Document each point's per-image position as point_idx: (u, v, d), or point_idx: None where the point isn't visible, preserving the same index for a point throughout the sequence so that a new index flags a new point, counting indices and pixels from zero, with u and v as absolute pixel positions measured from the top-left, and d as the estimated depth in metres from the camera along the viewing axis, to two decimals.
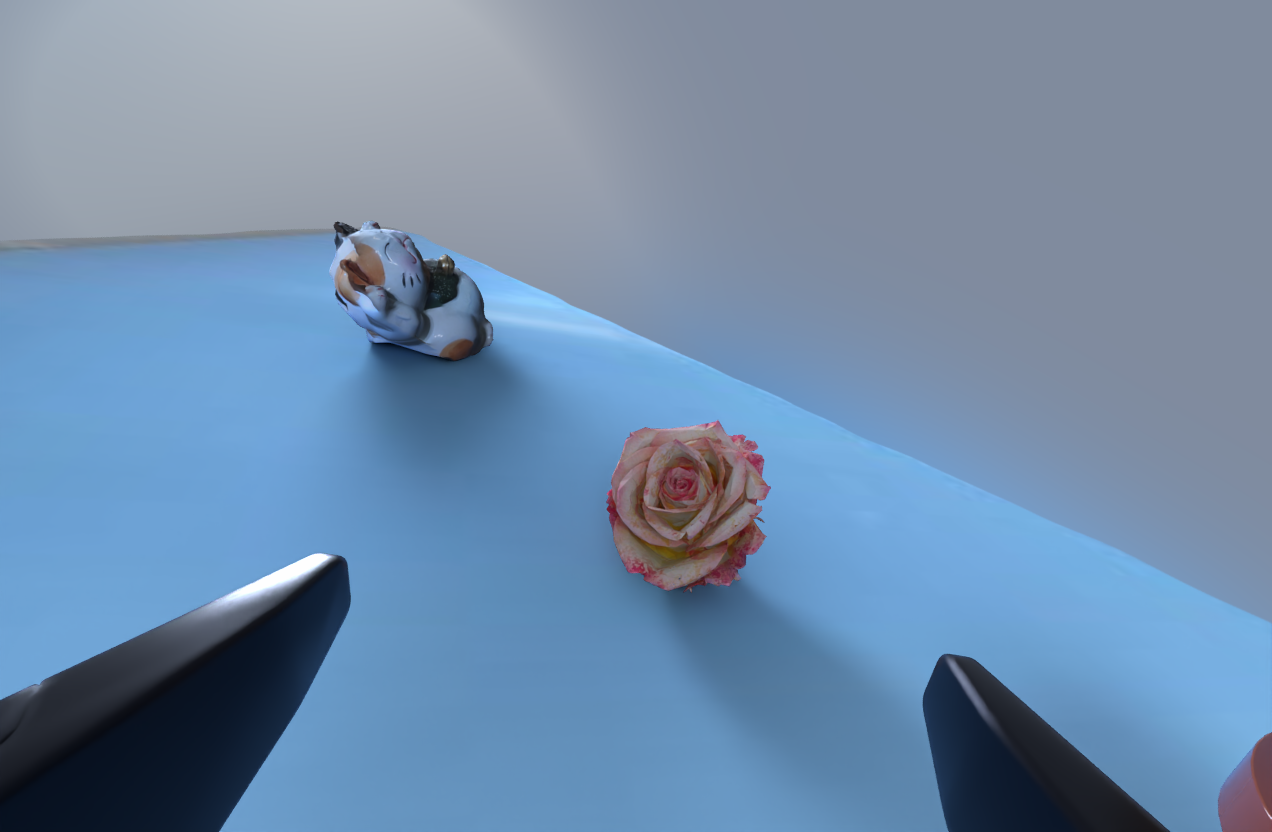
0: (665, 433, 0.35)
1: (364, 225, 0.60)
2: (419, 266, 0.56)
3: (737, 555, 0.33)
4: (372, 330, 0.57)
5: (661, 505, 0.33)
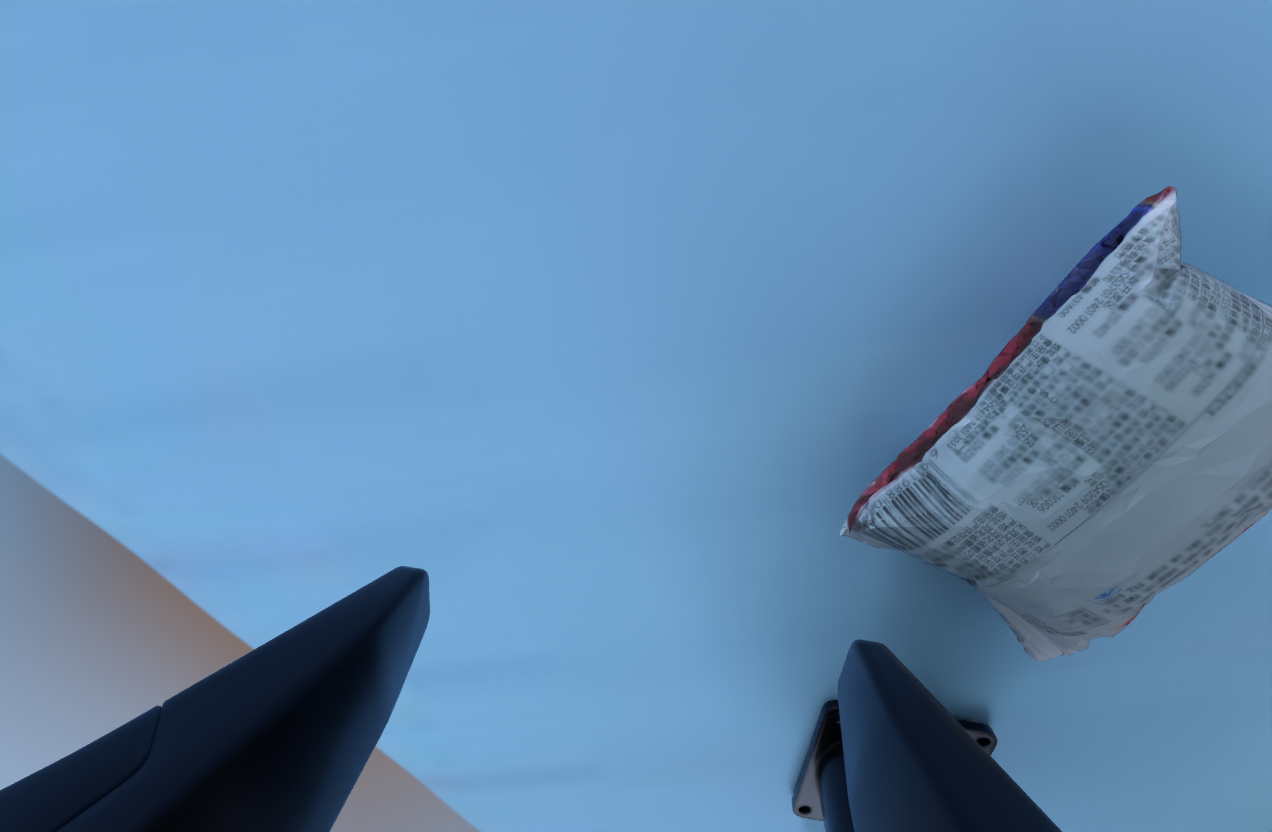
0: None
1: None
2: None
3: None
4: None
5: None
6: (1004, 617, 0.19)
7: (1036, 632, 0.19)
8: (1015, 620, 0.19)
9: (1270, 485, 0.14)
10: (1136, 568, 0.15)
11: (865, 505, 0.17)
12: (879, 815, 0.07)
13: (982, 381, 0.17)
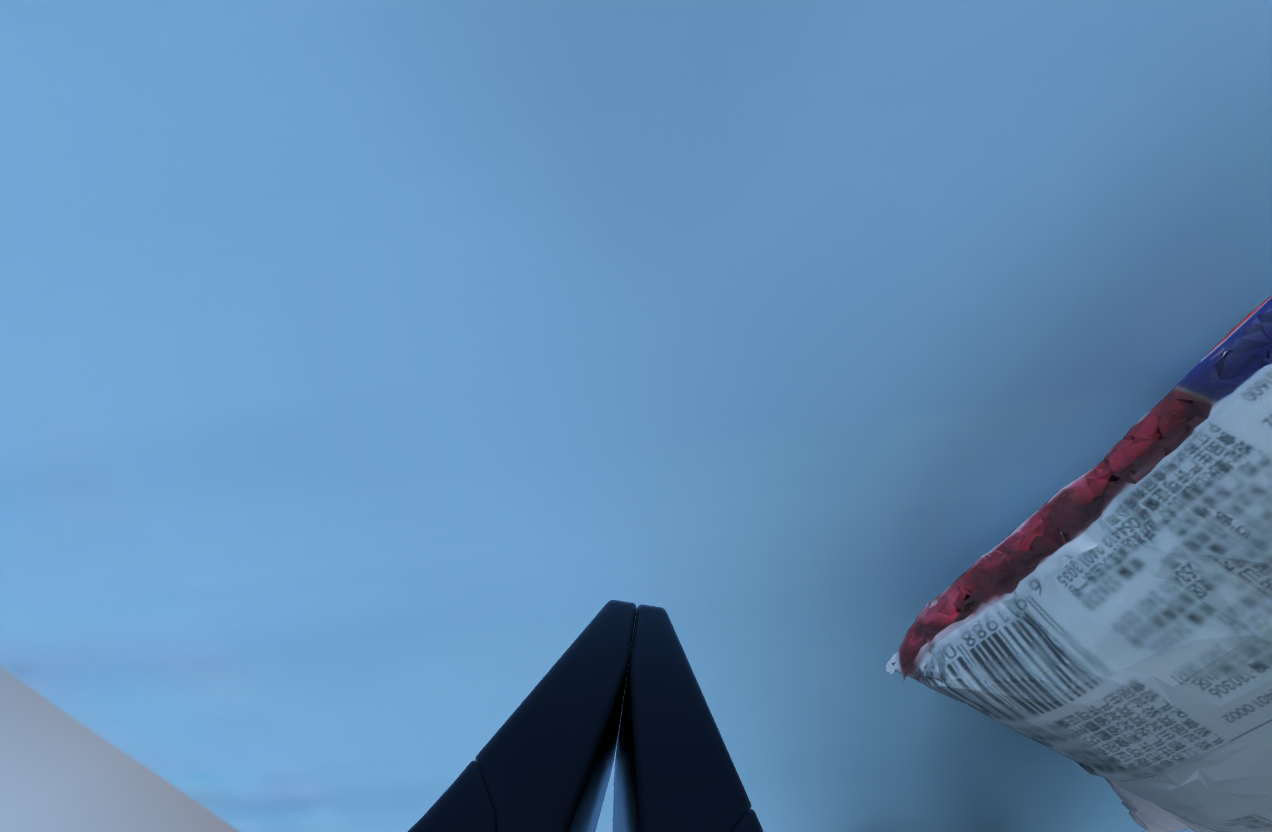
0: None
1: None
2: None
3: None
4: None
5: None
6: (1110, 782, 0.14)
7: (1154, 804, 0.14)
8: (1127, 789, 0.14)
9: None
10: None
11: (929, 647, 0.12)
12: (619, 770, 0.07)
13: (1098, 475, 0.12)
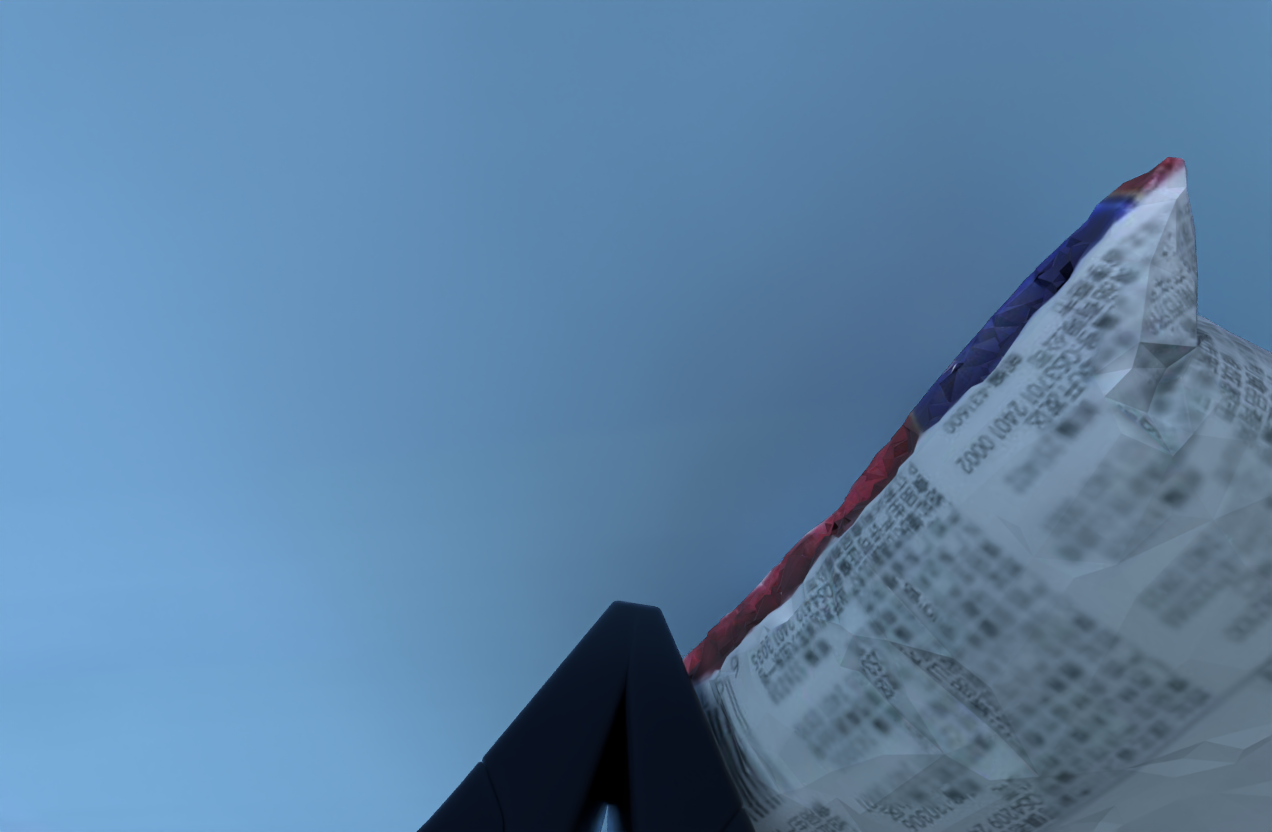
0: None
1: None
2: None
3: None
4: None
5: None
6: None
7: None
8: None
9: None
10: None
11: None
12: (614, 769, 0.07)
13: (835, 519, 0.09)
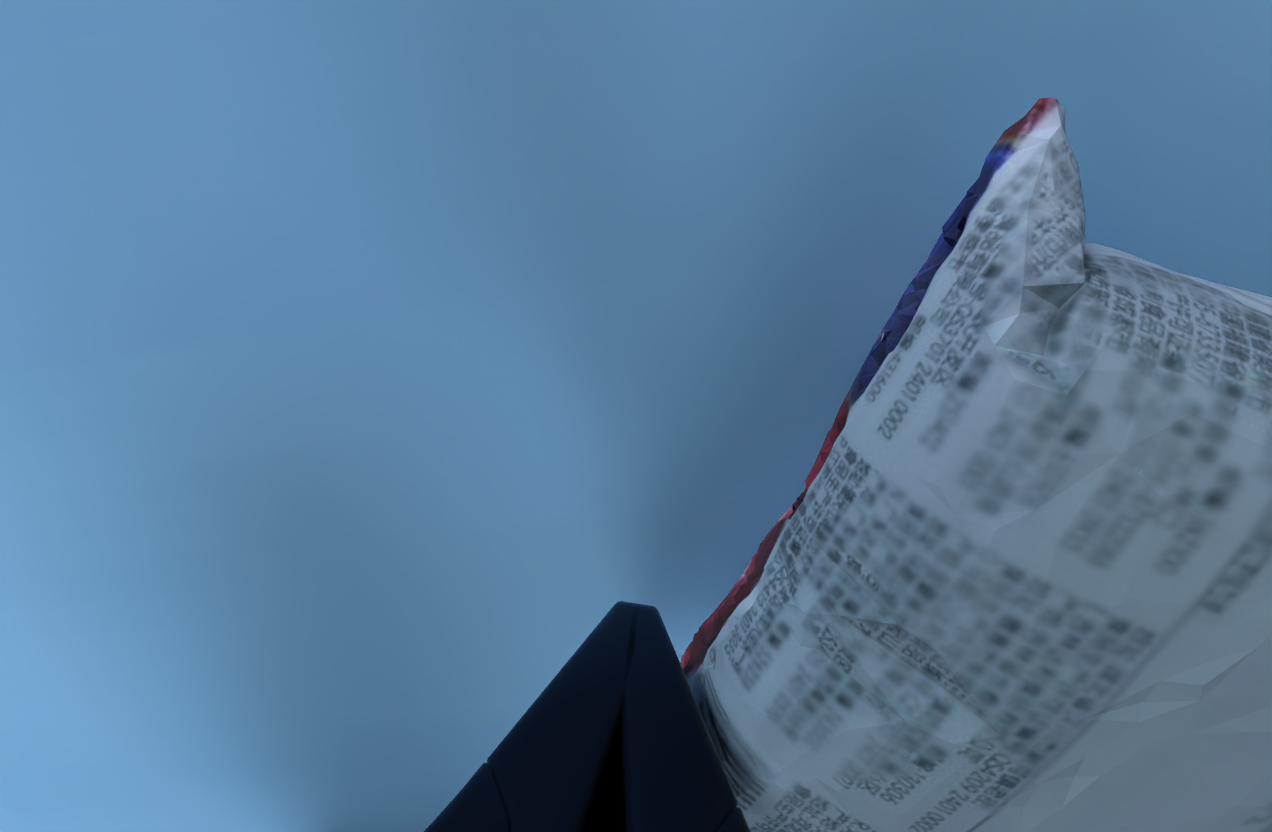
0: None
1: None
2: None
3: None
4: None
5: None
6: None
7: None
8: None
9: None
10: None
11: None
12: None
13: None
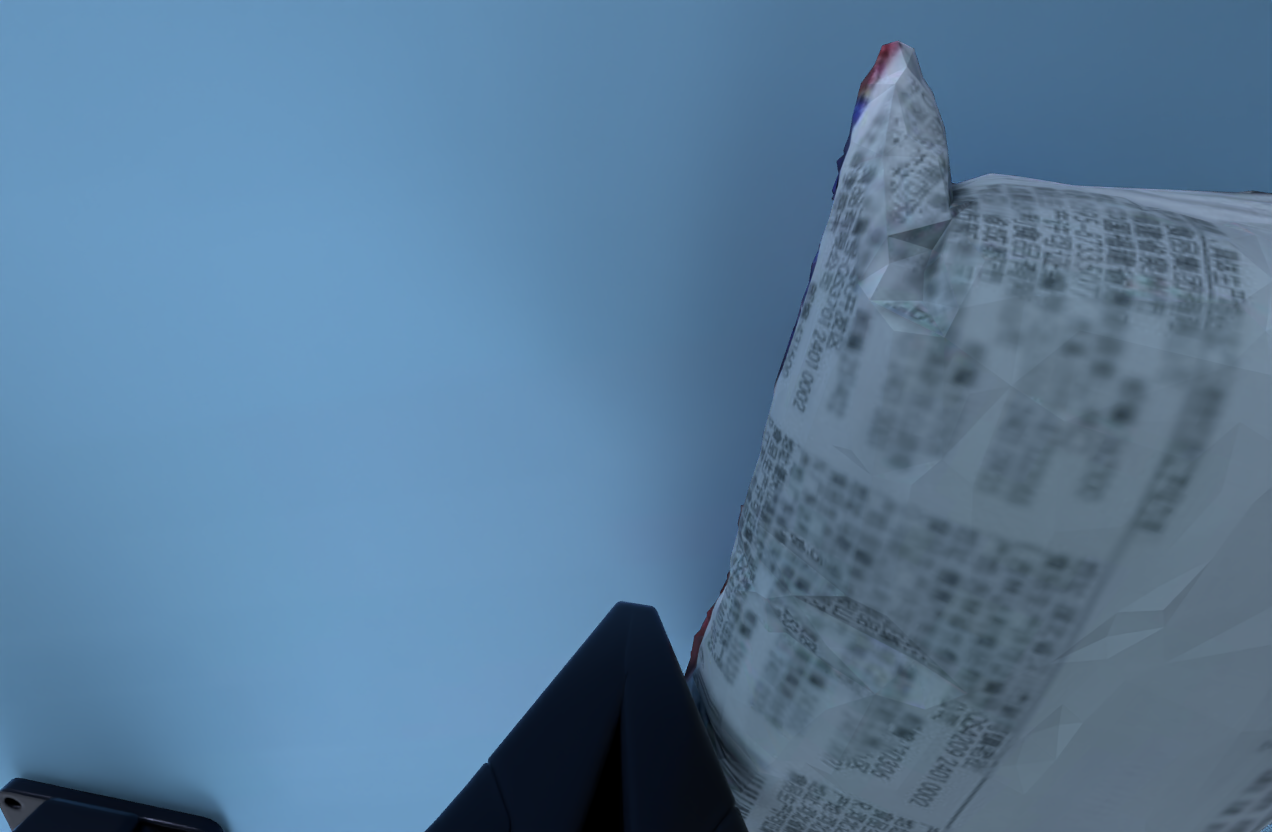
0: None
1: None
2: None
3: None
4: None
5: None
6: None
7: None
8: None
9: None
10: None
11: None
12: None
13: None
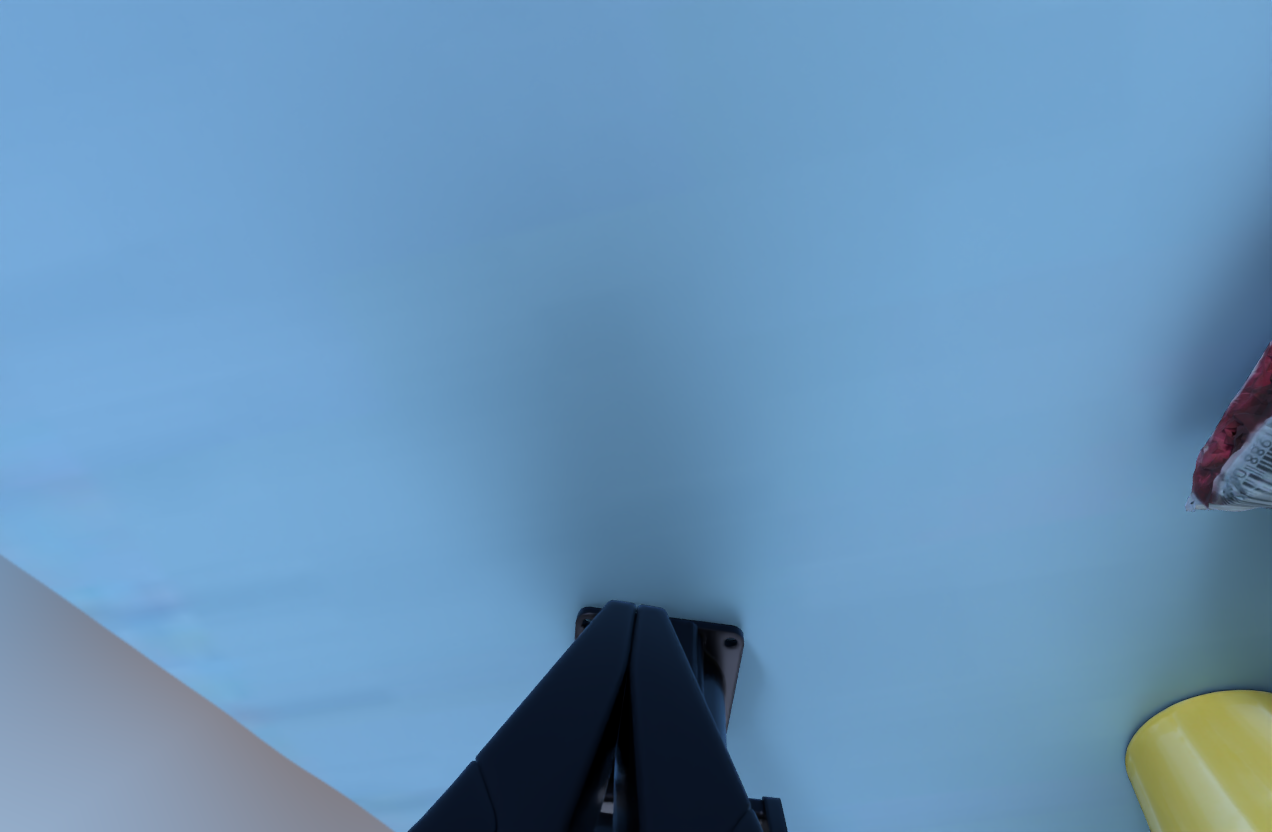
0: None
1: None
2: None
3: None
4: None
5: None
6: None
7: None
8: None
9: None
10: None
11: (1220, 477, 0.17)
12: (619, 770, 0.07)
13: None
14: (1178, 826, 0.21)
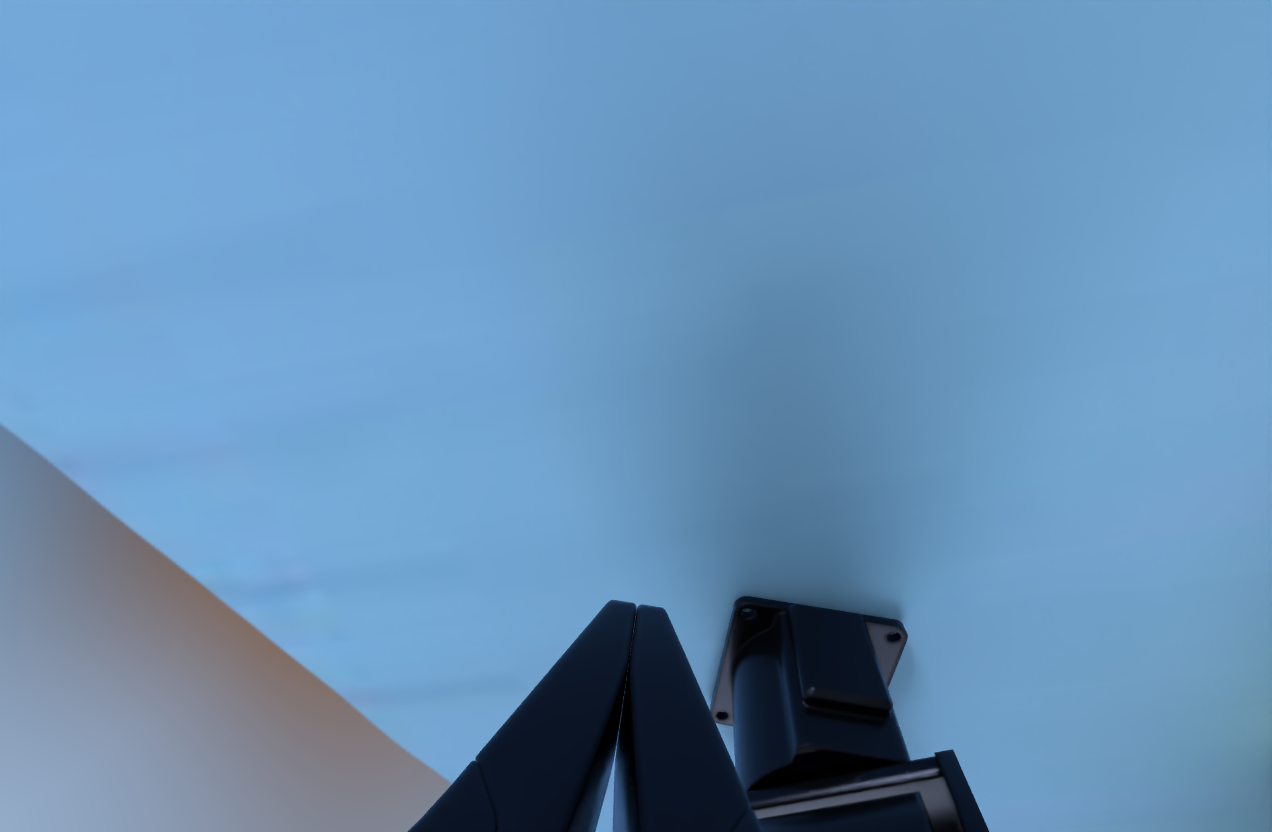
0: None
1: None
2: None
3: None
4: None
5: None
6: None
7: None
8: None
9: None
10: None
11: None
12: (619, 770, 0.07)
13: None
14: None
